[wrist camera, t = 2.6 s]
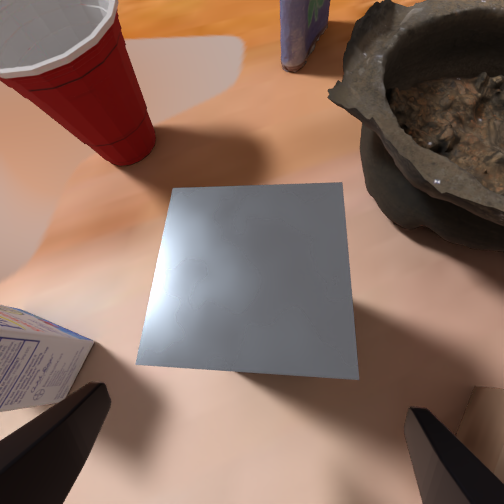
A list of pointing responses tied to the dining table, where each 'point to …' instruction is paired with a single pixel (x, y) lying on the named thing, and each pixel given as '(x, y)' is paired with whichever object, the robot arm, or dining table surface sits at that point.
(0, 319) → the medicine box
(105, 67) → the plastic cup
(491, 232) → the stone bowl
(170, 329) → the slate tin
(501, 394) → the walnut block
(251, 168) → the dining table surface
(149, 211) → the dining table surface
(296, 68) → the flask
